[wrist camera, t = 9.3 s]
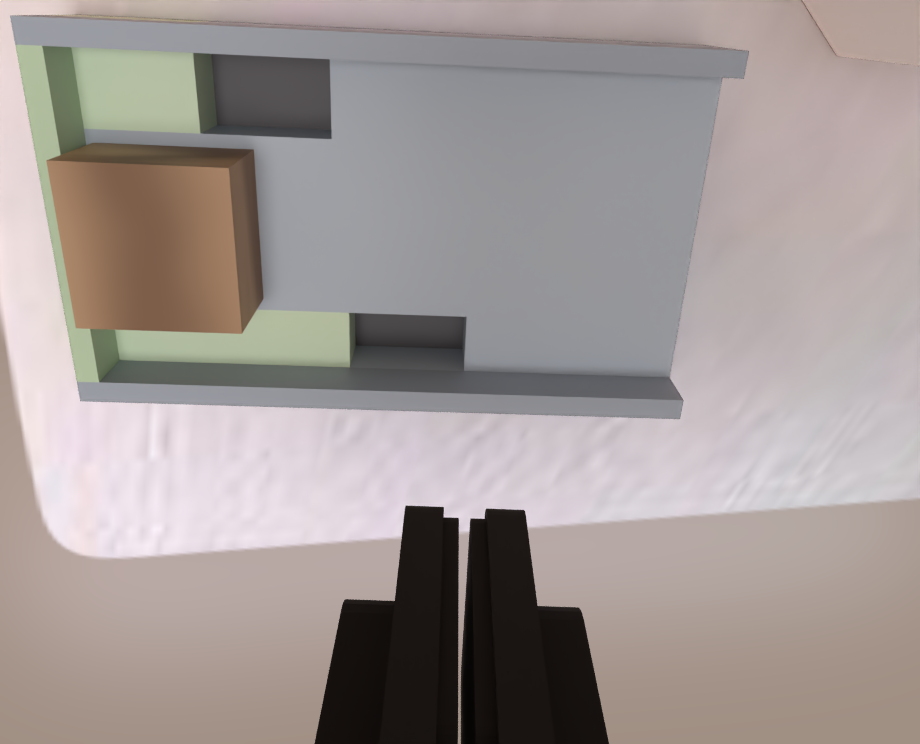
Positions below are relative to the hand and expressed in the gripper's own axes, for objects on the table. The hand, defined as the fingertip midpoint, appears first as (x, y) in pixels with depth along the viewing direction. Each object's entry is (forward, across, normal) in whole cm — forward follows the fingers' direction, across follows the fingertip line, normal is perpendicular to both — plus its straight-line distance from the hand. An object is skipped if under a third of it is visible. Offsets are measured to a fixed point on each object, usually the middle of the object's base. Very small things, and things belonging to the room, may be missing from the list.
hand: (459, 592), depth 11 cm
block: (+19, +10, 0) cm, 22 cm away
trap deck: (+22, +3, 0) cm, 22 cm away
